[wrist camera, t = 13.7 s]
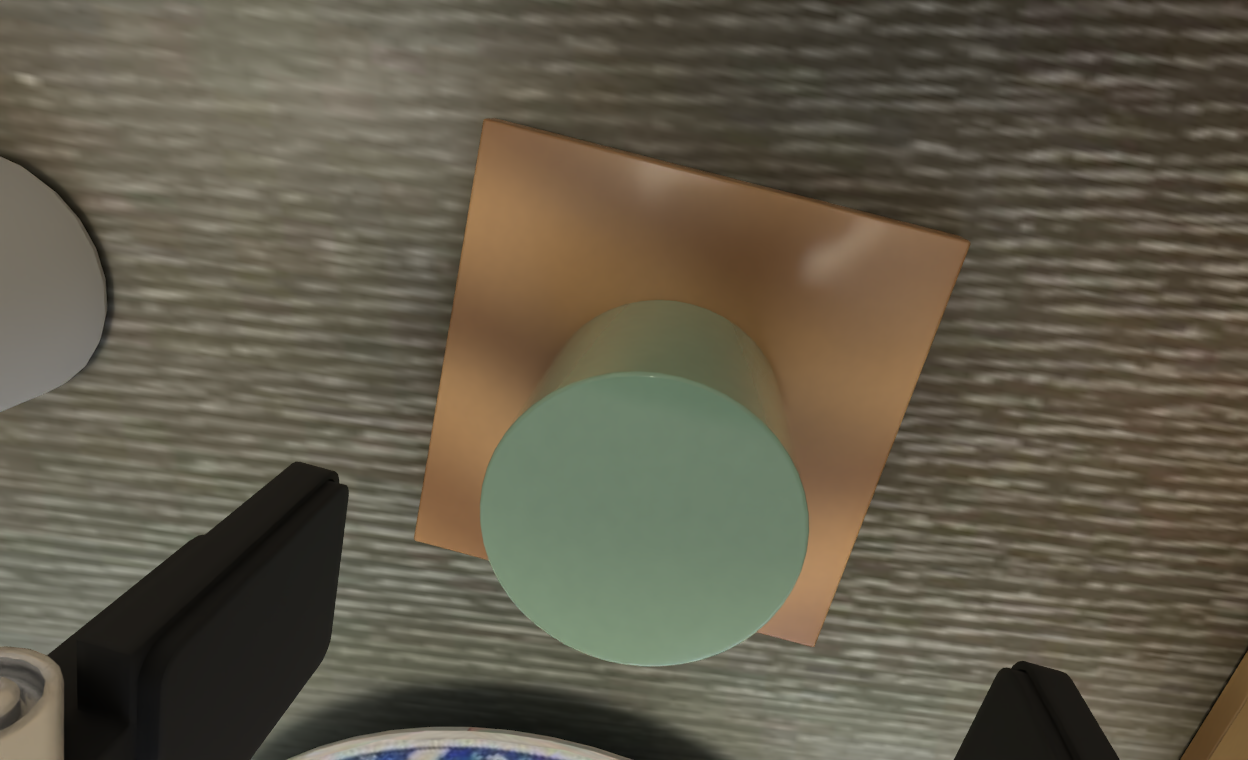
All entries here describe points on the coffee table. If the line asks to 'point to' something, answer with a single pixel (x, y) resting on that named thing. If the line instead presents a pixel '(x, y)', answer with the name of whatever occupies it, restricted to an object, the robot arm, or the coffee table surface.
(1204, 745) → the chest
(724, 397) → the sage green cylinder
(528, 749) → the ceramic plate
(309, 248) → the coffee table surface
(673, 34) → the coffee table surface
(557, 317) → the trivet
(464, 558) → the coffee table surface
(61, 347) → the cup
